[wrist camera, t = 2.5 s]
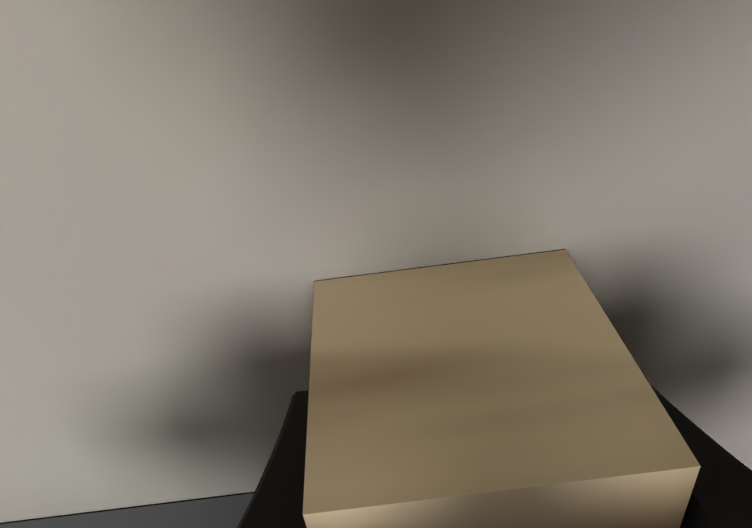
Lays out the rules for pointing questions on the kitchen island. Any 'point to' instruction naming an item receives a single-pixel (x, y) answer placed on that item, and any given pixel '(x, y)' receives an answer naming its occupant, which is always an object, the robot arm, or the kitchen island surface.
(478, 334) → the oak block
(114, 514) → the slate baseplate
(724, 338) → the kitchen island surface
